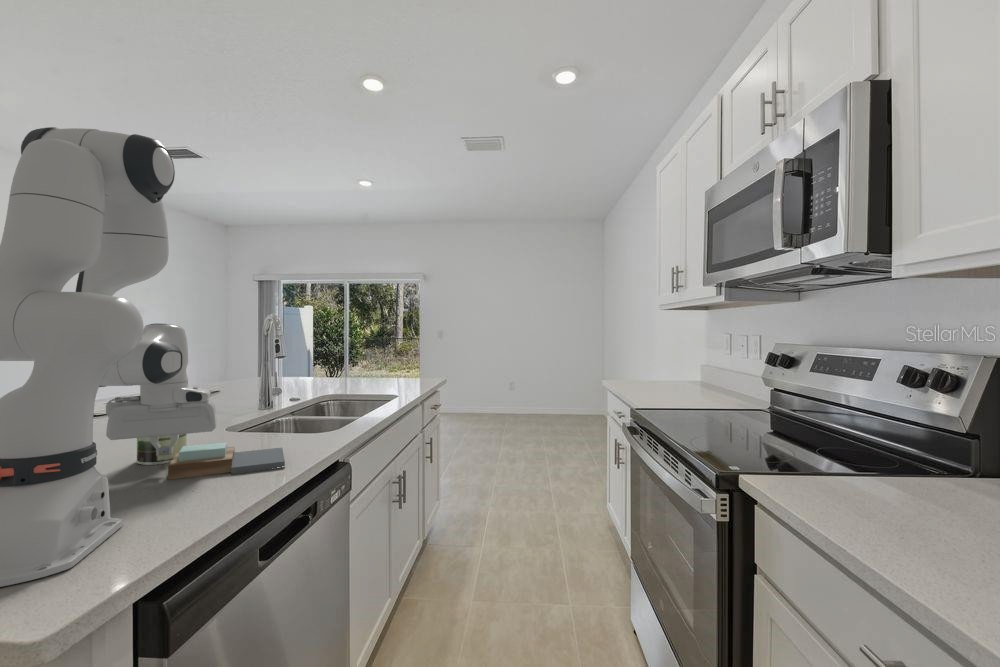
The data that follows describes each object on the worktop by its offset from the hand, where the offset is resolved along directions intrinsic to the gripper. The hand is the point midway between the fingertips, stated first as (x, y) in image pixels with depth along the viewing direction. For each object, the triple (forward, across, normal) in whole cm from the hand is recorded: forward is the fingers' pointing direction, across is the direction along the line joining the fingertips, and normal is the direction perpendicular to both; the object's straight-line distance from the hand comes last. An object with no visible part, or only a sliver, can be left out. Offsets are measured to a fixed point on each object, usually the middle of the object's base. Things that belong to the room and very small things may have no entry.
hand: (164, 454), depth 103 cm
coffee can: (+4, -2, +13) cm, 14 cm away
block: (+1, +8, 0) cm, 8 cm away
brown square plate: (+4, +8, 0) cm, 9 cm away
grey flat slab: (+4, +19, -1) cm, 20 cm away
